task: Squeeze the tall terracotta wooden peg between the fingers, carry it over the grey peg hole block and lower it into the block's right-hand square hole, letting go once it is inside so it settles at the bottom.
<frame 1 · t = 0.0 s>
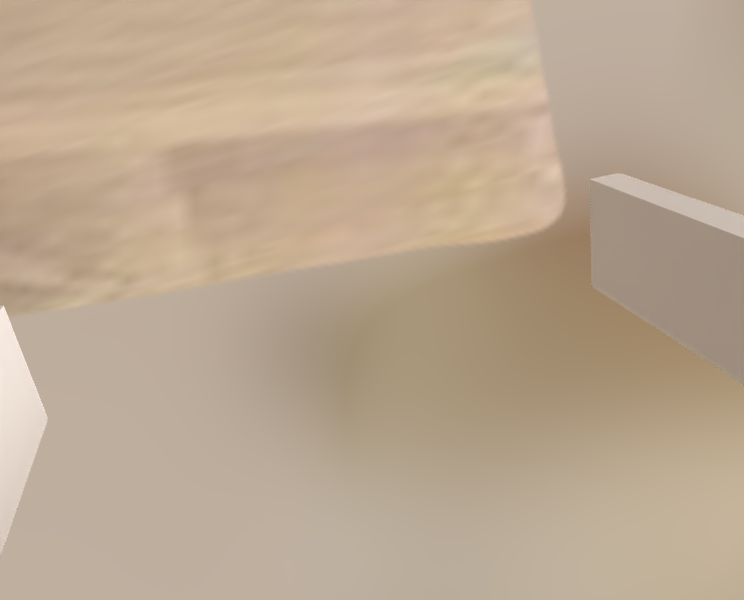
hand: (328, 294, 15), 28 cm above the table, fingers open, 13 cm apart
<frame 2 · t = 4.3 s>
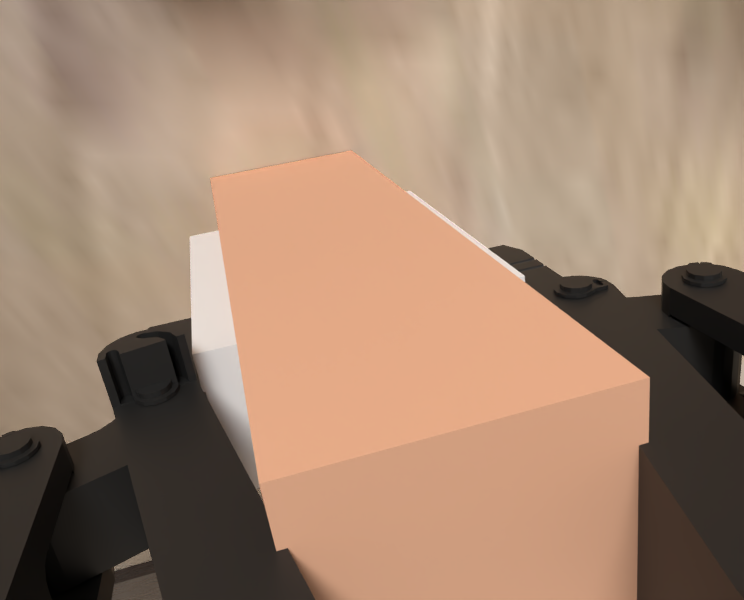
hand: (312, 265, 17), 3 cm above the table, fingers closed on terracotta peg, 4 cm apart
terracotta peg: (295, 231, 20), on the table, touching gripper
grey peg hole block: (365, 590, 26), on the table
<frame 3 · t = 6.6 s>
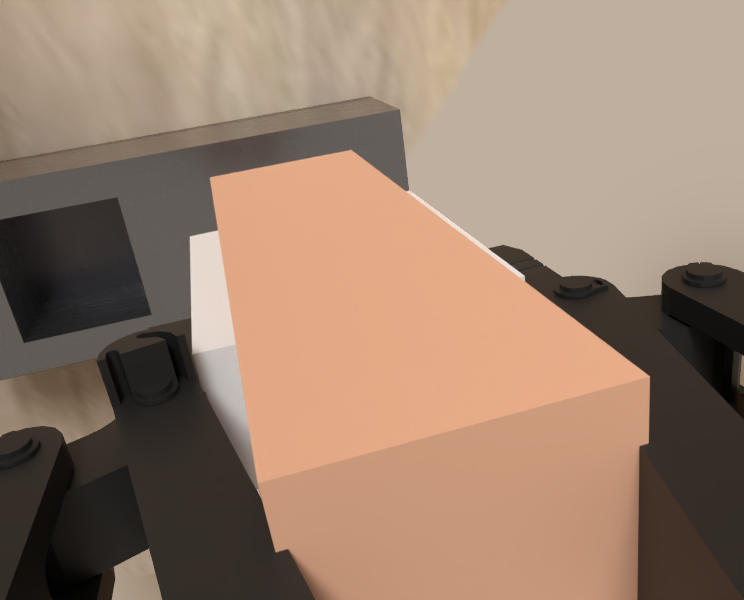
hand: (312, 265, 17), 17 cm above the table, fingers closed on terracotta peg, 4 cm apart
terracotta peg: (295, 231, 20), point 14 cm above the table, touching gripper
grey peg hole block: (181, 217, 33), on the table
when the fingers open (6 cm above the table, at t = 9.1 s): terracotta peg drops 2 cm, resting on grey peg hole block.
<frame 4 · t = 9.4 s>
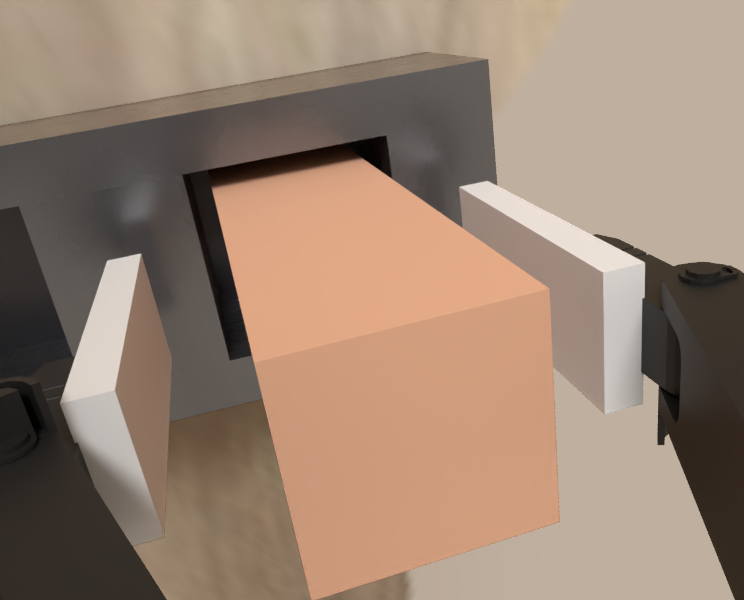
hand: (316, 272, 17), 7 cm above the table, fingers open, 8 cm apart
terracotta peg: (282, 211, 22), point 1 cm above the table, touching grey peg hole block
grey peg hole block: (143, 235, 22), on the table
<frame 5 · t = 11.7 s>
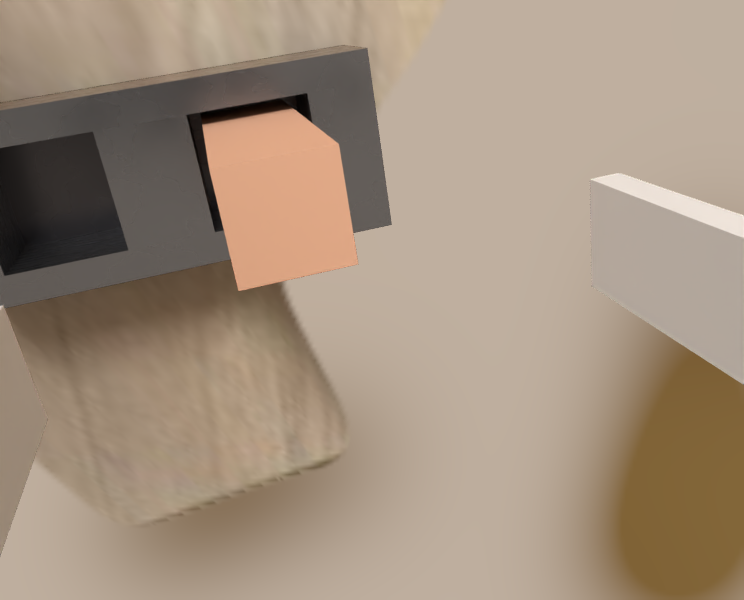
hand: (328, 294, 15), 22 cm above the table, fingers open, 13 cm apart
terracotta peg: (250, 148, 35), point 1 cm above the table, touching grey peg hole block
grey peg hole block: (160, 163, 34), on the table
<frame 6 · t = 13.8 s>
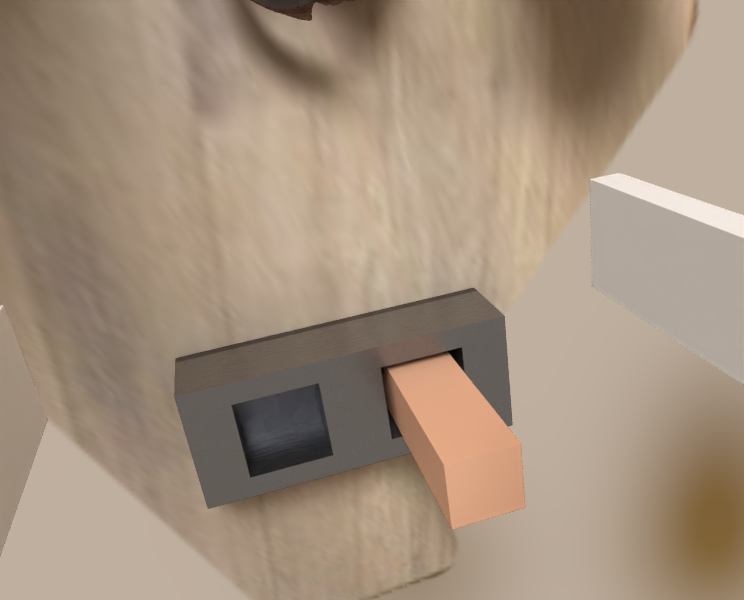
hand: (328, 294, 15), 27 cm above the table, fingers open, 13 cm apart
terracotta peg: (405, 362, 47), point 1 cm above the table, touching grey peg hole block
grey peg hole block: (340, 374, 47), on the table
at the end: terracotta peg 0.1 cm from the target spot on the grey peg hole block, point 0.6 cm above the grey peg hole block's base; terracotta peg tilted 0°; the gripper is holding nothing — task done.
